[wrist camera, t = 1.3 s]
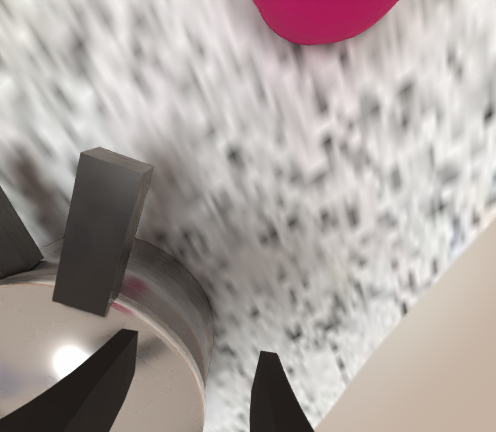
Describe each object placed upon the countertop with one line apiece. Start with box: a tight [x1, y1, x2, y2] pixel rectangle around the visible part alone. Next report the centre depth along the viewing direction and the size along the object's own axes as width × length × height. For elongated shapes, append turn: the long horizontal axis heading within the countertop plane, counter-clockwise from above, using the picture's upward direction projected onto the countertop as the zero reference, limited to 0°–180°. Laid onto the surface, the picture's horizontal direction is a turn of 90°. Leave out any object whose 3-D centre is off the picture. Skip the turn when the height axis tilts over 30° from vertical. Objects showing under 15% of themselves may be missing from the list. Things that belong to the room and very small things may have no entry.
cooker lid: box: [0, 147, 206, 432], centre depth 17 cm, size 22×16×3 cm
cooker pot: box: [0, 186, 214, 388], centre depth 22 cm, size 15×24×6 cm, turn 20°
